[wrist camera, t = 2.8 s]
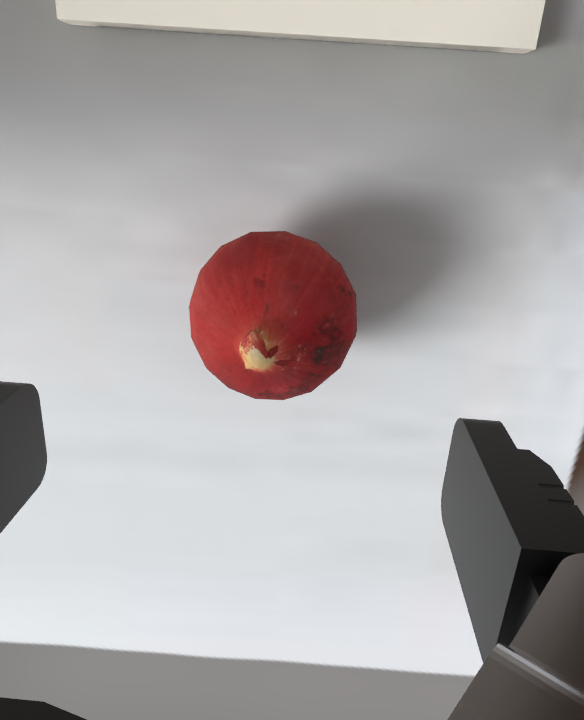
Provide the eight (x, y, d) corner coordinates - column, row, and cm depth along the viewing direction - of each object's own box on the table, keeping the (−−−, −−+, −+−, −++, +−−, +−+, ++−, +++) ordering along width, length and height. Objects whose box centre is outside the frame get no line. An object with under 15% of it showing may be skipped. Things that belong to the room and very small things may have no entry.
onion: (374, 250, 22) (400, 307, 15) (320, 373, 24) (318, 477, 17) (237, 194, 22) (192, 224, 14) (193, 325, 24) (134, 410, 16)
